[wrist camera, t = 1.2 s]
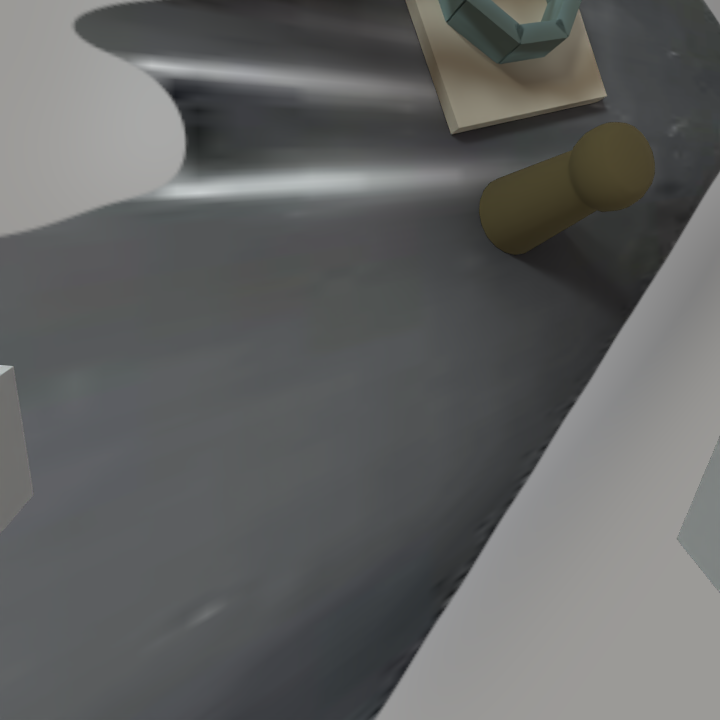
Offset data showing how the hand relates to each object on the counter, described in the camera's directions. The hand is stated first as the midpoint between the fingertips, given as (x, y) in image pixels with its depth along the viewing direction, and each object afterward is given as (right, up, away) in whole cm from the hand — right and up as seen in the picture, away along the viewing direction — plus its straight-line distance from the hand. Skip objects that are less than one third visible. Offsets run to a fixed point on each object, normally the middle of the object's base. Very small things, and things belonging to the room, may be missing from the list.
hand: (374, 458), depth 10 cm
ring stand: (+10, +31, +32) cm, 45 cm away
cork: (+11, +13, +32) cm, 36 cm away
